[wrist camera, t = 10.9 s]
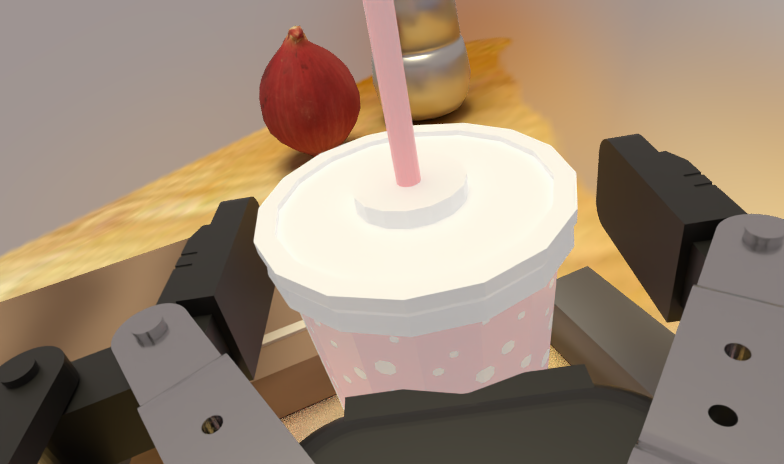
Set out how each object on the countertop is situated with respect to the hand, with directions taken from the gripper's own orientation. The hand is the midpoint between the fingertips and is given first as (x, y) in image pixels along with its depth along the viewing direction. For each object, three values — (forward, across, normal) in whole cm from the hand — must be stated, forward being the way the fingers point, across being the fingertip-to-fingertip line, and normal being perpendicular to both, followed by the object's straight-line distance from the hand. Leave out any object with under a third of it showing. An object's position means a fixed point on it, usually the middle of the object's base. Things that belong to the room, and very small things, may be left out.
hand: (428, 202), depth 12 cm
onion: (+20, +6, +8) cm, 22 cm away
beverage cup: (-2, 0, +8) cm, 8 cm away
